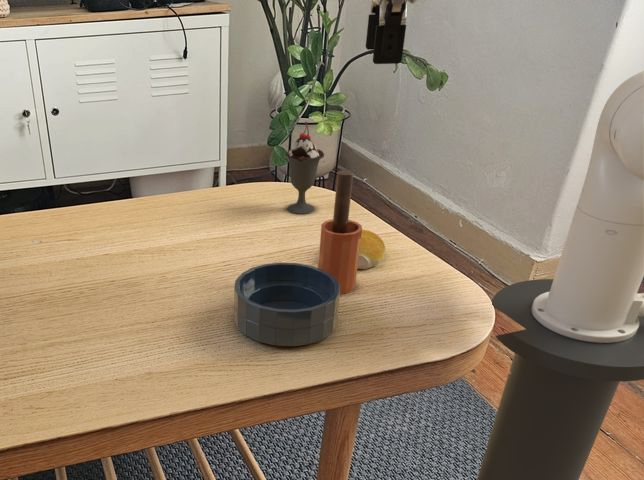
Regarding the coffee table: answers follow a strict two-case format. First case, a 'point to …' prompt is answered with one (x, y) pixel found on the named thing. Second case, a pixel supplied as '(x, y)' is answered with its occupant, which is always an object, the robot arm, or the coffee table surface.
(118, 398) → the coffee table surface
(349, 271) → the crock
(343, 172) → the stirring stick
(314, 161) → the sundae
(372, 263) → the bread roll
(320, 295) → the bowl
